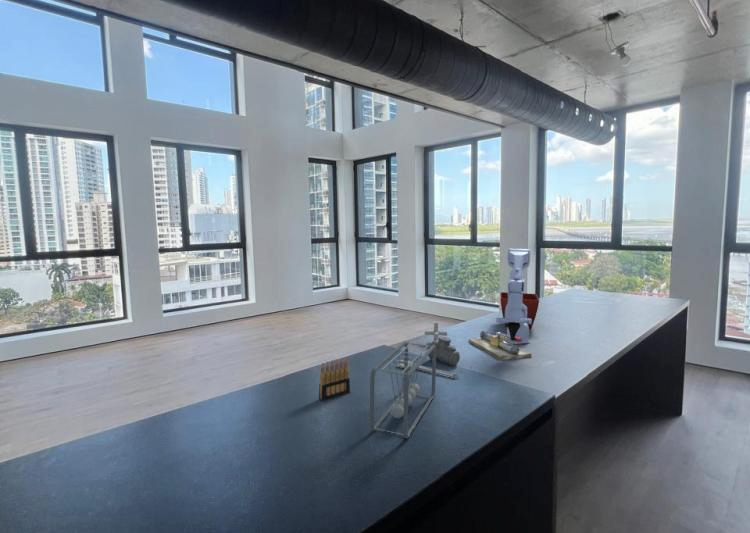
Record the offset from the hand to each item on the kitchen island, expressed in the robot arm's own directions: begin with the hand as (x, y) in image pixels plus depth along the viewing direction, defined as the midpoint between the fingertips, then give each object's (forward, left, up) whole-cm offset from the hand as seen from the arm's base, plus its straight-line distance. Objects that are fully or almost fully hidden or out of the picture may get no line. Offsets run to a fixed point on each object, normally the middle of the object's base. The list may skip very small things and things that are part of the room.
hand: (512, 340), depth 171 cm
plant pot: (-32, -42, -7) cm, 54 cm away
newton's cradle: (+62, +38, -7) cm, 73 cm away
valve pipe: (+1, -9, -7) cm, 11 cm away
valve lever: (-1, -4, 0) cm, 4 cm away
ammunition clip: (+80, +21, -7) cm, 83 cm away
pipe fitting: (+32, +1, -7) cm, 33 cm away
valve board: (+1, -9, -7) cm, 11 cm away
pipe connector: (+25, -23, -7) cm, 35 cm away
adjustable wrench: (+43, +8, -7) cm, 44 cm away
